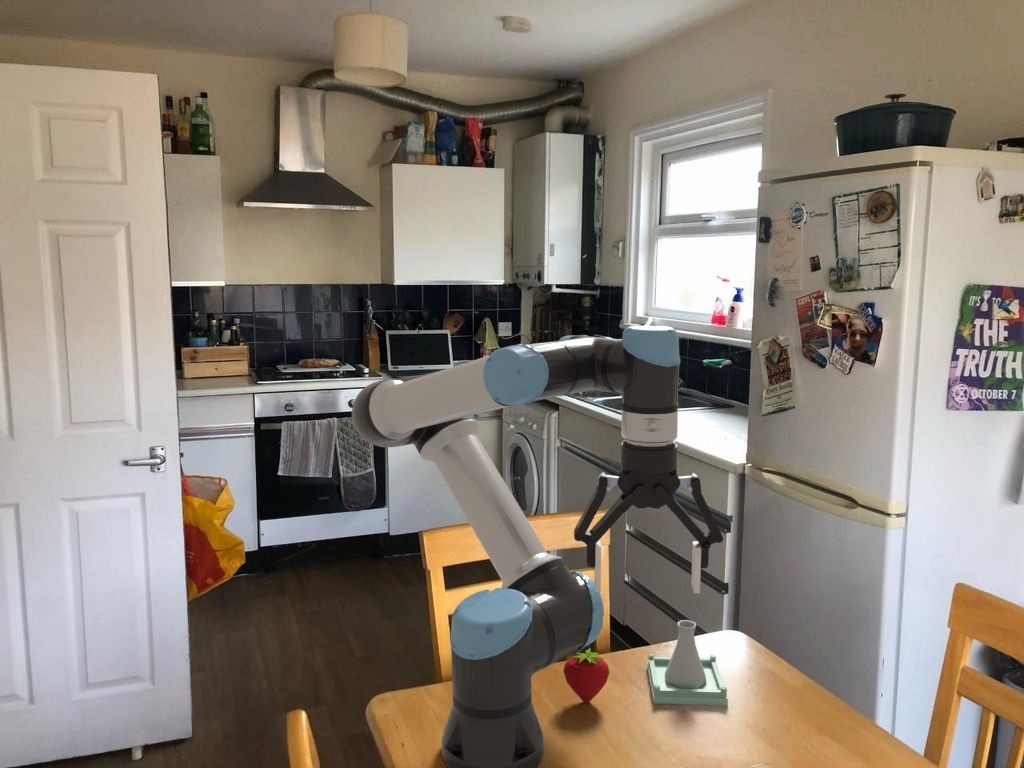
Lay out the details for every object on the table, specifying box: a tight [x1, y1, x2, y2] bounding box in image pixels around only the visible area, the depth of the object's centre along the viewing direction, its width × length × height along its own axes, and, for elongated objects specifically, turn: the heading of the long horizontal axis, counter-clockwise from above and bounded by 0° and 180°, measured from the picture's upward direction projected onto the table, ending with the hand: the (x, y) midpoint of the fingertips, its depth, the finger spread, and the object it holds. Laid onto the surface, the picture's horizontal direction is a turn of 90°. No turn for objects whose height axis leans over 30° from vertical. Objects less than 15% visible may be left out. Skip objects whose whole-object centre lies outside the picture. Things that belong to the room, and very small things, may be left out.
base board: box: [646, 653, 729, 707], centre depth 141 cm, size 12×12×3 cm
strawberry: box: [563, 644, 610, 703], centre depth 136 cm, size 6×8×10 cm
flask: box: [665, 619, 707, 689], centre depth 140 cm, size 7×7×10 cm
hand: (646, 589), depth 116 cm, fingers open, 13 cm apart
